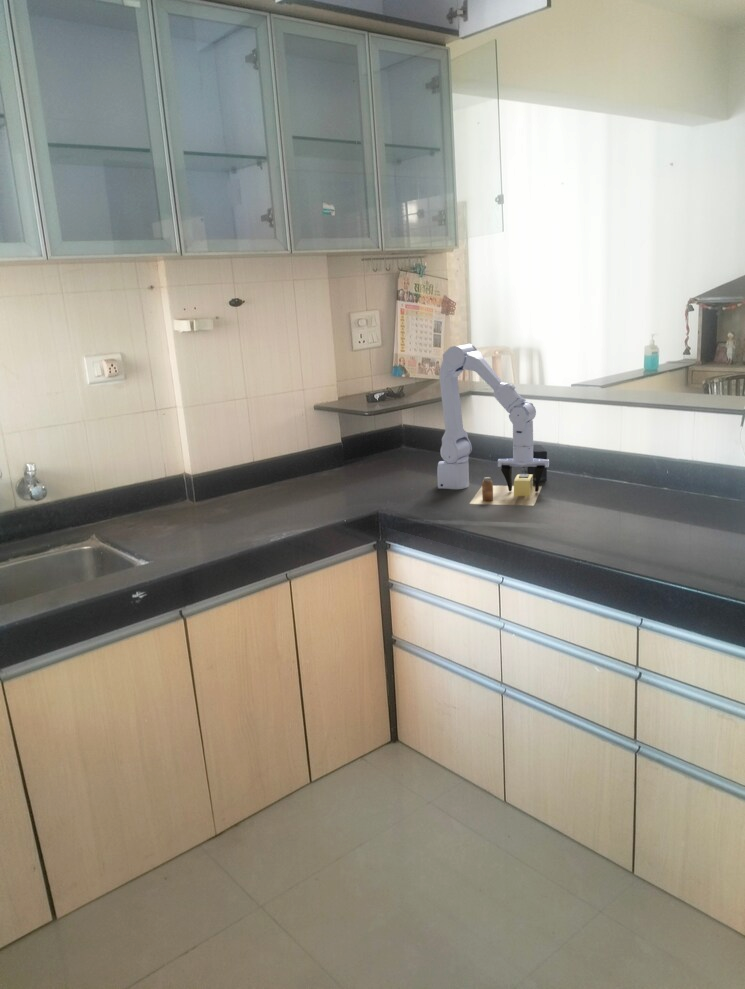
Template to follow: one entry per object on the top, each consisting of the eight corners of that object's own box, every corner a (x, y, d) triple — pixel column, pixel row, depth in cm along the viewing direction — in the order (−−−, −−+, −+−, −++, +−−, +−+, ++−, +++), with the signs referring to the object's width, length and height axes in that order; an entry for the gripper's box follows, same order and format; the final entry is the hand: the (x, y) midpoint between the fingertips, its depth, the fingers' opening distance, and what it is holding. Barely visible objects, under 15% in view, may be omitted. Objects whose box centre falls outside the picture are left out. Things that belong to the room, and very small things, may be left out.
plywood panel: (469, 507, 213) (469, 503, 213) (482, 488, 232) (482, 485, 232) (534, 509, 208) (533, 505, 207) (541, 489, 227) (541, 486, 227)
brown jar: (481, 501, 215) (481, 479, 213) (483, 498, 218) (482, 476, 216) (492, 501, 214) (491, 479, 212) (493, 498, 217) (493, 476, 215)
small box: (548, 483, 233) (548, 450, 231) (527, 485, 233) (526, 451, 231) (541, 475, 243) (541, 443, 241) (521, 477, 244) (520, 445, 241)
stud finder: (513, 495, 218) (513, 479, 217) (517, 488, 225) (517, 473, 224) (529, 496, 217) (529, 480, 215) (532, 489, 224) (532, 473, 223)
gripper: (495, 447, 216) (496, 493, 220) (547, 447, 212) (547, 494, 215) (499, 442, 223) (500, 487, 226) (549, 442, 218) (549, 488, 221)
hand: (523, 490), depth 221 cm, fingers open, 7 cm apart
